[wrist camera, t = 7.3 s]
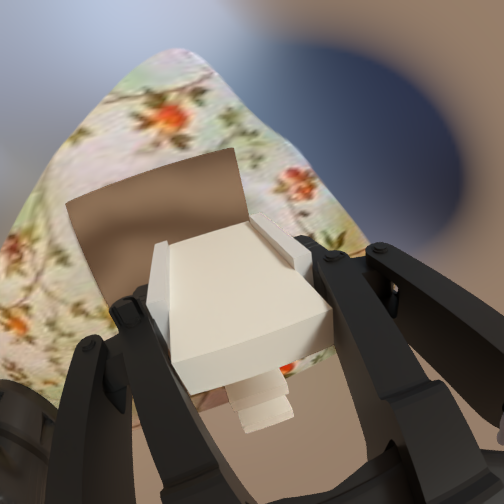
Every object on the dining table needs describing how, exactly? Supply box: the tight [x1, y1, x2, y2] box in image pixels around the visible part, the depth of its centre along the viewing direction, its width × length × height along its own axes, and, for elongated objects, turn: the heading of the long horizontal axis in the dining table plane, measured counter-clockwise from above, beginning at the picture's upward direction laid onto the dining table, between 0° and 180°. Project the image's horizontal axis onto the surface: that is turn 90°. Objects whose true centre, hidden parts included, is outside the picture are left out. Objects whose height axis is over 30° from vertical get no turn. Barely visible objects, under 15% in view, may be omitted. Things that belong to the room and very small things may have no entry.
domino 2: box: [225, 368, 289, 412], centre depth 25 cm, size 2×5×10 cm, turn 102°
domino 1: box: [169, 221, 334, 395], centre depth 12 cm, size 2×5×10 cm, turn 102°
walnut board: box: [65, 148, 250, 391], centre depth 28 cm, size 26×16×2 cm, turn 12°
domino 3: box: [237, 395, 294, 434], centre depth 27 cm, size 2×5×10 cm, turn 102°
